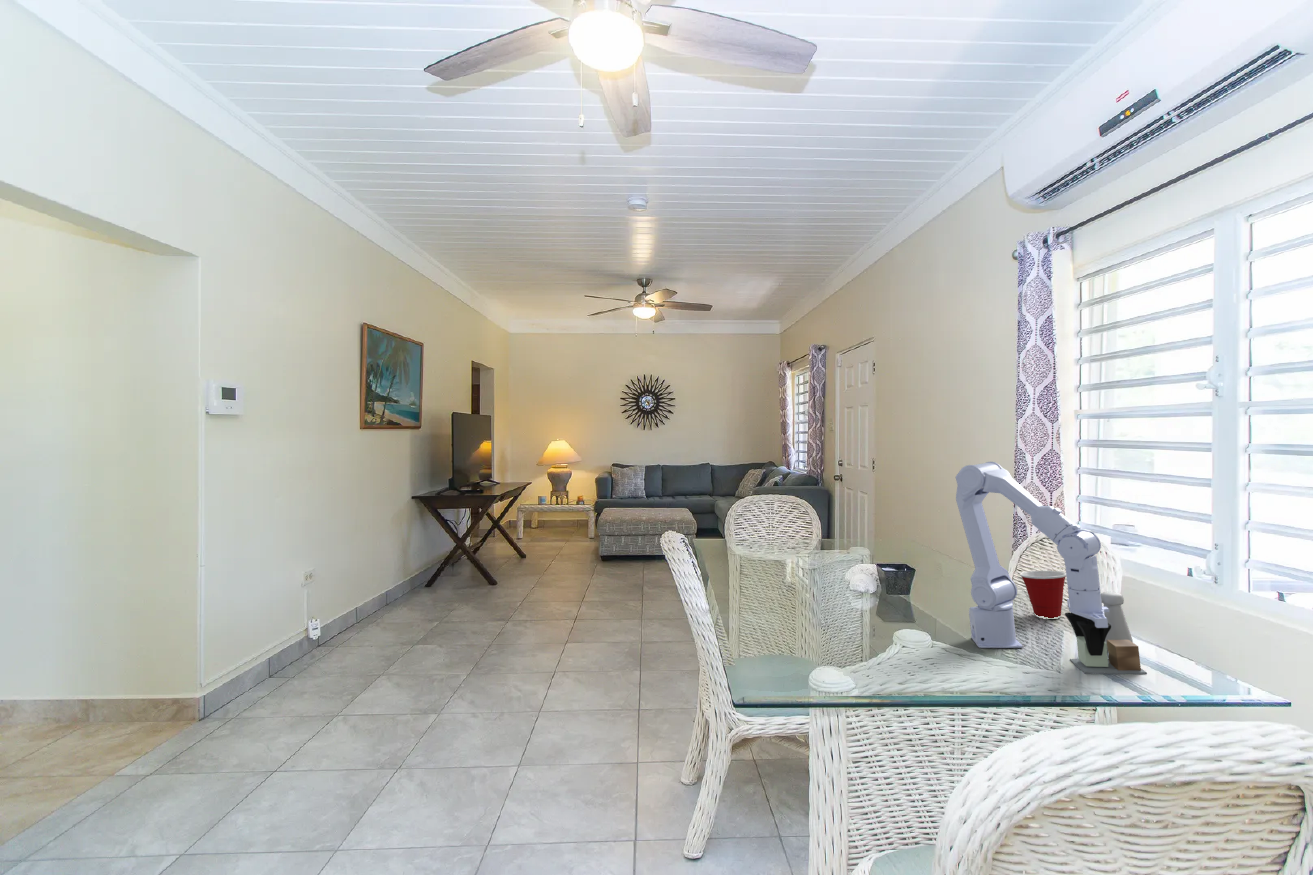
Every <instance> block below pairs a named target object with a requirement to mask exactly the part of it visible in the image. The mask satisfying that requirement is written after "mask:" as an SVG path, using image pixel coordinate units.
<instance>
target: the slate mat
mask: <svg viewBox="0 0 1313 875" xmlns="http://www.w3.org/2000/svg"><path fill="white" fill-rule="evenodd" d="M1069 661H1070V662H1071V663H1073V664H1074V665H1075V666H1076V667H1077V668H1078V669H1079V670H1080V671H1081V672H1082V673H1084V674H1085V675H1087V674H1089V675H1090V674H1091V675H1096V674H1098V675H1099V674H1100V675H1102V674H1103V675H1105V674H1106V675H1113V674H1114V675H1120V674H1121V675H1124V674H1126V675H1128V674H1129V675H1140V674H1141V675H1147V674H1148V673H1147V671H1146V670H1144V669H1143V668H1141V671H1134V670H1117V669H1116V668H1115V667H1113V666H1112V665H1111V664H1110V663H1109V658H1108V667H1093V666H1085V665H1084V664H1083V663H1082V662H1081V661H1080V660H1079V659H1078V658H1069Z"/></svg>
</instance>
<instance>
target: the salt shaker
mask: <svg viewBox="0 0 1313 875" xmlns="http://www.w3.org/2000/svg"><path fill="white" fill-rule="evenodd" d="M1124 600H1125V599H1124V595H1123V594H1121V593H1120V592H1115V591H1104V592H1103V591H1102V592H1101V601H1102V605H1103V606H1104V607H1107V608H1109V612H1104V615H1105V617H1106V618H1107V621H1108V623H1109V624H1111V629H1110V631H1109V632H1108V634H1107V636H1106V639H1105V643H1106V645H1107V640H1130V641H1131V642H1133V643H1134V641H1133V636H1132V634H1131V631H1130V628H1129V626H1128V621H1127V618H1126V616H1125V613H1124V609H1123V606H1122V605H1123V604H1124V603H1125V601H1124ZM1107 651H1108V648H1107Z"/></svg>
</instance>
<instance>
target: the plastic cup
mask: <svg viewBox="0 0 1313 875" xmlns="http://www.w3.org/2000/svg"><path fill="white" fill-rule="evenodd" d="M1019 576H1020V577H1021V578H1022V581H1023V583H1024V585H1025V588H1026V591H1027V592H1026V593H1027V596H1028V598H1029V601H1030V604H1031V606H1032V607H1031V608H1032V611H1033V613H1035V614H1036V615H1038V616H1044V617H1048V618H1054V617H1058V616H1061V615H1062V609H1063V608H1062V607H1063V600H1064V599H1063V598H1064V586H1065V581H1066V578H1067V577H1066V571H1065V572H1064V571H1058V570H1030V571H1029V570H1028V571H1023V572H1020V573H1019ZM1035 614H1034V615H1035Z"/></svg>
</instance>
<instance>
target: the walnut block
mask: <svg viewBox="0 0 1313 875" xmlns="http://www.w3.org/2000/svg"><path fill="white" fill-rule="evenodd" d="M1107 648H1108V650H1107V657H1108V659H1109V663H1110V664H1111V665H1112V666H1113V667H1115V668H1116V669H1117V670H1134V671H1141V669H1142V667H1141V666H1142V665H1141V657H1140V650H1139V649H1140V648H1139V645H1137V644H1135V643H1134V641H1133V642H1131V641H1130V640H1107Z"/></svg>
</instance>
